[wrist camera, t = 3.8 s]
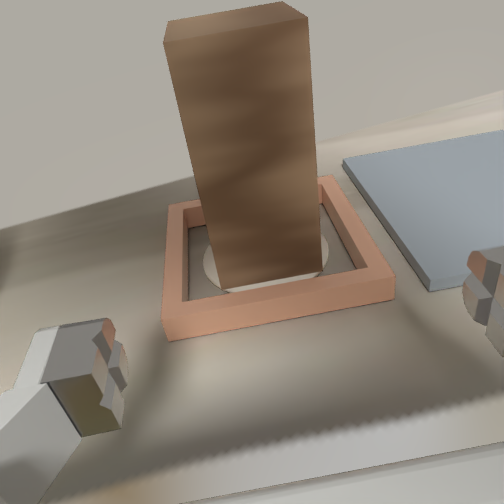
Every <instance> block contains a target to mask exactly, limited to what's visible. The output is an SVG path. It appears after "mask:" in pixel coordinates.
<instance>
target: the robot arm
mask: <svg viewBox="0 0 504 504" xmlns="http://www.w3.org/2000/svg"><path fill="white" fill-rule="evenodd" d="M467 267H468V268H469V269H470V270H471V273H470V275H469V276H468V277H467V278H466V279H465V280H464V283H463V290H462V294H463V299H464V304H465V306H466V309H467V311H468V313H469V314H470V315H471V317H472V318H473V320H474V321H476V322H478V323H481V324H483V325H485V326H486V332H485V335H486V337H487V338H488V339H489V341H490V342H491V343H492V345H493V346H494V347H495V348H496V350H497V351H498V352H499V354H500V355H501V356H502V357H504V245H500V246H495V247H490V248H484V249H479V250H474V251H472V252H471V253H470V255H469V256H468V261H467ZM115 331H116V330H115V328H114V326H113V324H112V322H111V320H110V319H108V318H102V319H96V320H90V321H84V322H77V323H71V324H65V325H62V326H55V327H49V328H43V329H39V330H38V331H37V332H36V333H35V334H34V336H33V339H32V341H31V344H30V346H29V349H28V351H27V354H26V356H25V359H24V361H23V364H22V366H21V369H20V371H19V374H18V377H17V379H16V382H15V384H14V387H13V389H12V390H7V391H4V392H3V393H2V394H1V395H0V504H38V503H39V501H40V500H41V498H42V497H43V495H44V494H45V492H46V491H47V490H48V488H49V487H50V485H51V484H52V482H53V481H54V479H55V478H56V477H57V475H58V474H59V472H60V471H61V469H62V468H63V466H64V465H65V464H66V462H67V461H68V459H69V458H70V456H71V455H72V453H73V452H74V451H75V449H76V448H77V446H78V445H79V443H80V442H81V440H82V438H81V437H86V436H90V435H95V434H99V433H104V432H109V431H113V430H118V429H121V426H122V419H123V412H124V405H125V401H124V399H123V397H122V395H121V392H122V391H123V390H124V388H125V387H126V386H127V383H128V361H127V357H126V353H125V350H124V348H123V346H122V344H121V343H119V342H117V341H116V340H114V337H115ZM181 504H504V442H499V443H494V444H489V445H483V446H478V447H473V448H468V449H463V450H458V451H452V452H447V453H442V454H437V455H431V456H426V457H421V458H416V459H411V460H406V461H400V462H395V463H390V464H385V465H379V466H374V467H369V468H364V469H359V470H353V471H348V472H343V473H338V474H332V475H328V476H322V477H317V478H312V479H307V480H301V481H296V482H291V483H286V484H280V485H275V486H270V487H265V488H259V489H254V490H249V491H244V492H239V493H233V494H228V495H223V496H218V497H213V498H207V499H202V500H197V501H191V502H186V503H181Z"/></svg>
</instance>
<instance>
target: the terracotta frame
mask: <svg viewBox="0 0 504 504" xmlns="http://www.w3.org/2000/svg"><path fill="white" fill-rule="evenodd" d="M317 180H318V197H319V204H321V203H323V205H324V207H325V209H326V211H327V213H328V215H329V216H330V218H331V220H332V222H333V224H334V226H335V228H336V230H337V232H338V234H339V236H340V238H341V240H342V241H343V243H344V245H345V247H346V249H347V251H348V253H349V255H350V257H351V259H352V261H353V263H354V264H355V266H356V268H357V270H352V271H346V272H341V273H335V274H330V275H325V276H319V277H316V276H317V275H318V274H319V273H320V272H316V273H310V274H305V275H300V276H294V277H289V278H284V279H278V280H273V281H267V282H262V283H257V284H251V285H246V286H241V287H235V288H230V289H225V290H224V291H226V292H229V293H228V294H223V295H218V296H212V297H207V298H202V299H196V300H191V301H188V228H191V227H196V226H202V225H206V223H205V218H204V214H203V210H202V206H201V201H200V199H197V200H191V201H186V202H180V203H175V204H169V207H168V222H167V237H166V251H165V266H164V280H163V295H162V310H161V322H162V325H163V328H164V330H165V333H166V336H167V339H168V341H169V342H170V341H175V340H181V339H186V338H191V337H196V336H202V335H207V334H212V333H218V332H223V331H228V330H234V329H239V328H244V327H250V326H255V325H260V324H266V323H271V322H276V321H282V320H287V319H292V318H298V317H303V316H308V315H313V314H319V313H324V312H329V311H335V310H340V309H345V308H351V307H356V306H361V305H367V304H372V303H377V302H383V301H388V300H393V299H394V295H395V279H396V276H395V274H394V273H393V271H392V269H391V268H390V266H389V265H388V263H387V261H386V260H385V258H384V257H383V255H382V253H381V252H380V250H379V249H378V247H377V245H376V244H375V242H374V241H373V239H372V237H371V236H370V234H369V233H368V231H367V229H366V228H365V226H364V225H363V223H362V221H361V220H360V218H359V217H358V215H357V213H356V212H355V210H354V209H353V207H352V205H351V204H350V202H349V201H348V199H347V197H346V196H345V194H344V193H343V191H342V189H341V188H340V186H339V185H338V183H337V181H336V180H335V178H334V177H333V175H328V176H322V177H317ZM321 247H322V264H323V269H324V267H325V265H326V263H327V260H328V256H329V248H328V243H327V240H326V238H325V237H324V235H323V234H322V233H321ZM203 267H204V271H205V273H206V276H207V277H208V279H209V280H210V281H211V282H212V283H213V284H214V285H215V286H217V287H218V288H220V289H221V286H220V282H219V278H218V273H217V269H216V265H215V261H214V257H213V252H212V248H211V244H209V246H208V247H207V249H206V251H205V253H204V257H203Z"/></svg>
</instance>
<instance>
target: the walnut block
mask: <svg viewBox="0 0 504 504" xmlns="http://www.w3.org/2000/svg"><path fill="white" fill-rule="evenodd" d="M163 45H164V49H165V53H166V57H167V61H168V65H169V70H170V74H171V78H172V83H173V87H174V91H175V96H176V100H177V104H178V108H179V113H180V117H181V121H182V125H183V129H184V134H185V138H186V142H187V146H188V150H189V155H190V159H191V163H192V167H193V172H194V176H195V180H196V185H197V189H198V193H199V197H200V201H201V206H202V210H203V214H204V218H205V223H206V227H207V231H208V235H209V240H210V244H211V248H212V252H213V257H214V261H215V265H216V269H217V273H218V278H219V282H220V286H221V290H225V289H230V288H235V287H241V286H246V285H251V284H257V283H262V282H267V281H273V280H278V279H284V278H289V277H294V276H300V275H305V274H310V273H316V272H321V271H323V264H322V247H321V230H320V213H319V197H318V180H317V163H316V146H315V129H314V113H313V95H312V79H311V61H310V46H309V28H308V17H307V16H305V15H304V14H302V13H300V12H299V11H297V10H295V9H294V8H292V7H291V6H289V5H287V4H286V3H284V2H283V1H282V2H275V3H270V4H264V5H258V6H253V7H247V8H241V9H236V10H230V11H224V12H219V13H213V14H207V15H202V16H195V17H190V18H184V19H179V20H173V21H168V24H167V28H166V32H165V37H164V41H163Z"/></svg>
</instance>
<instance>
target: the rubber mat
mask: <svg viewBox="0 0 504 504" xmlns="http://www.w3.org/2000/svg"><path fill="white" fill-rule="evenodd" d="M343 168H344V170H345V171H346V173H347V174H348V175H349V177H350V178H351V180H352V181H353V183H354V184H355V186H356V187H357V188H358V190H359V191H360V193H361V194H362V196H363V197H364V198H365V200H366V201H367V203H368V204H369V206H370V207H371V209H372V210H373V211H374V213H375V214H376V216H377V217H378V219H379V220H380V222H381V223H382V224H383V226H384V227H385V229H386V230H387V232H388V233H389V235H390V236H391V237H392V239H393V240H394V242H395V243H396V245H397V246H398V247H399V249H400V250H401V252H402V253H403V255H404V256H405V258H406V259H407V260H408V262H409V263H410V265H411V266H412V268H413V269H414V271H415V272H416V273H417V275H418V276H419V278H420V279H421V281H422V282H423V284H424V285H425V286H426V288H427V289H428V291H429V292H431V291H436V290H442V289H447V288H452V287H457V286H463V283H464V280H465V279H466V278H467V277H468V276H469V275H470V273H471V270H470V269H469V268H468V267H467V261H468V256H469V255H470V253H471V252H472V251H474V250H479V249H484V248H490V247H495V246H500V245H504V131H503V130H498V131H493V132H487V133H482V134H476V135H471V136H465V137H460V138H454V139H449V140H444V141H438V142H433V143H427V144H422V145H416V146H411V147H405V148H400V149H394V150H389V151H383V152H378V153H372V154H367V155H361V156H356V157H350V158H345V159H343Z"/></svg>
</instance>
